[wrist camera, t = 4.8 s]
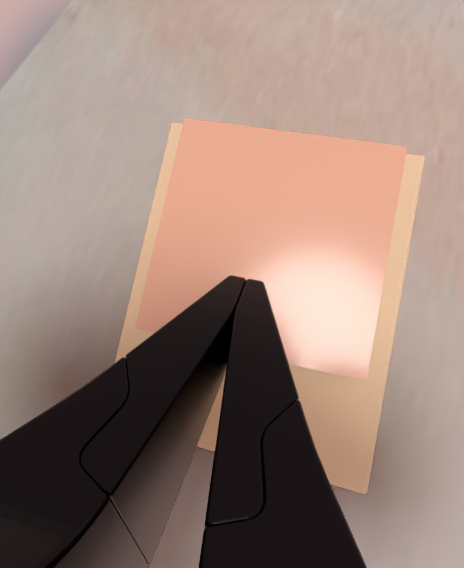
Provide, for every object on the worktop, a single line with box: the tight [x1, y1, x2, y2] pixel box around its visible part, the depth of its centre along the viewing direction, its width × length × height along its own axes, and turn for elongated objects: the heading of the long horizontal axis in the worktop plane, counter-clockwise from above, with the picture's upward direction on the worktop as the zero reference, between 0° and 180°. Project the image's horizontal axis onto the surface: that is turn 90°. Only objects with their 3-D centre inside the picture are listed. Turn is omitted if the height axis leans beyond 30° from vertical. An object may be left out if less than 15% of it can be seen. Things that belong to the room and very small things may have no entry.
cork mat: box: [115, 123, 425, 495], centre depth 16 cm, size 16×13×1 cm
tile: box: [135, 118, 407, 382], centre depth 15 cm, size 2×10×10 cm
